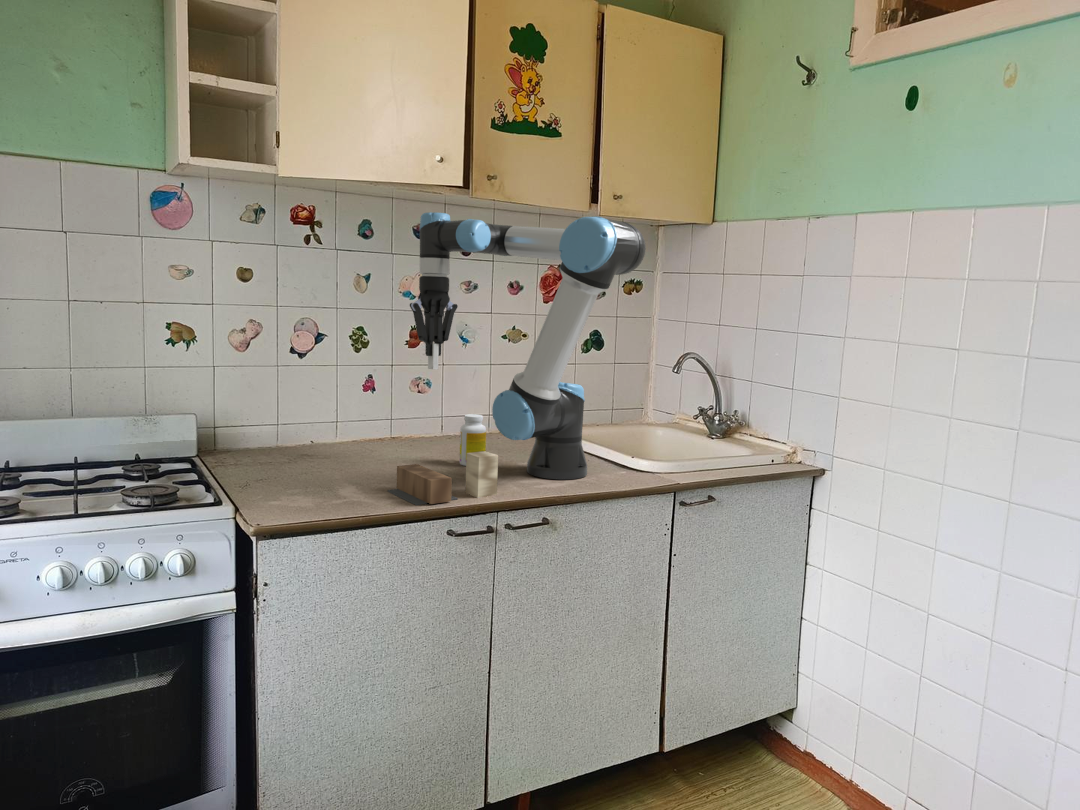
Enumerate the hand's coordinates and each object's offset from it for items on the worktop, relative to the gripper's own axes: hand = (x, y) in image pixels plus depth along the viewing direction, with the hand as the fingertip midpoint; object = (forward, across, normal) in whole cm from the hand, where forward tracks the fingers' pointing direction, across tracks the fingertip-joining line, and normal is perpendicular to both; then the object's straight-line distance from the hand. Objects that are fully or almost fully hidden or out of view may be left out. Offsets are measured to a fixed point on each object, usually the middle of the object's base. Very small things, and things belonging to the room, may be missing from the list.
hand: (433, 368), depth 202 cm
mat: (+24, +19, +29) cm, 42 cm away
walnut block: (+22, +19, +22) cm, 36 cm away
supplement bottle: (+24, -7, +8) cm, 27 cm away
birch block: (+25, +7, +34) cm, 43 cm away
